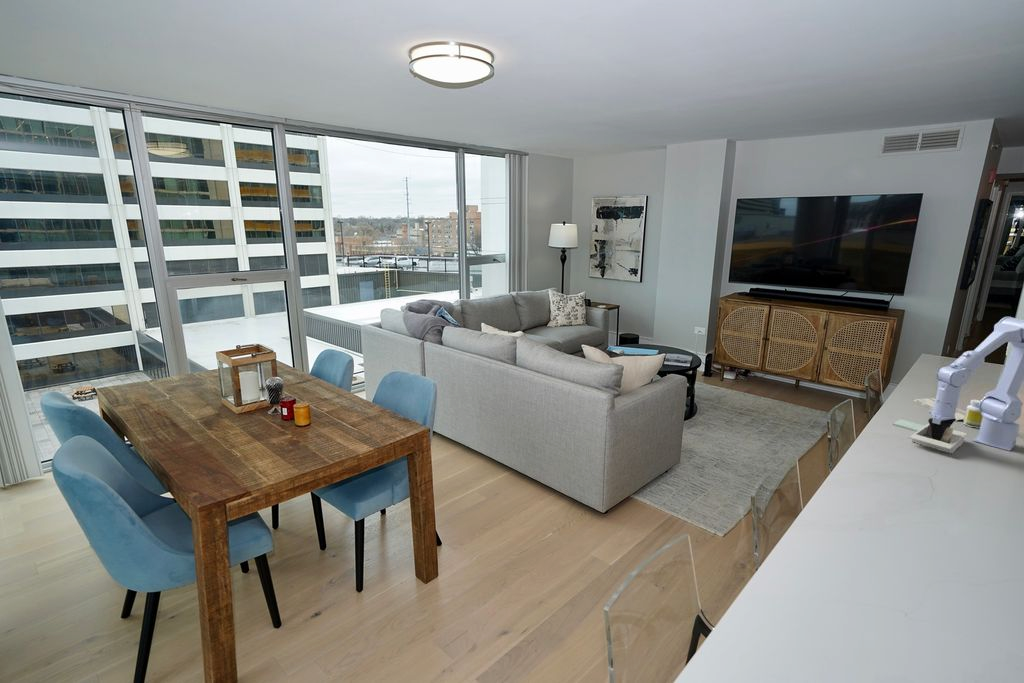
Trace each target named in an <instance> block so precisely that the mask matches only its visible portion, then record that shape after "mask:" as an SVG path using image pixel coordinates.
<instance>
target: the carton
mask: <svg viewBox="0 0 1024 683" xmlns="http://www.w3.org/2000/svg"><path fill="white" fill-rule="evenodd" d="M928 425H930V424H929V422H928V423H927V424H925V425H924V427H923V428H921V429H920V430H919V431H915V432H914V433H913V434H912V435H910V436H909V437H908V438H909V439H912V440H911V443H913V442H915V443H914V444H917V443H918V444H917V445H920V444H922V445H921V446H924V445H926V446H925V447H927V446H929V447H928V448H930V447H932V448H931V449H934V448H936V449H935V450H937V449H939V450H938V451H941V450H942V452H944V451H946V452H945V453H948V452H949V454H951V453H952V454H954V453H955V451H956V449H957V448H958V447H959V446H960V447H961V446H963V443H964V439H965V437H966V436H968V433H966V432H962V431H959V430H955V429H953V432H952V437H951V441H952V442H951V443H950V444H949V443H945V442H941V441H938V440H934V439H931V438H927V437H926V436H924V435H925V434H926V432H927V428H928ZM954 442H955V443H954ZM960 447H959V448H960ZM959 448H958V449H959ZM958 449H957V450H958Z"/></svg>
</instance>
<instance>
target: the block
mask: <svg viewBox="0 0 1024 683" xmlns="http://www.w3.org/2000/svg"><path fill="white" fill-rule="evenodd" d="M953 430H954V428H951V427H950V428H948V427H947V428H946V430H945V432H944V434H943V436H942V438H941V440H940V441H941V442H945V443H949V444H951V442H950V441H951V437H952V432H953ZM925 437H927V438H931V439H932V434H931V427H930V425H928V428H927V432H926V435H925Z"/></svg>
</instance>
